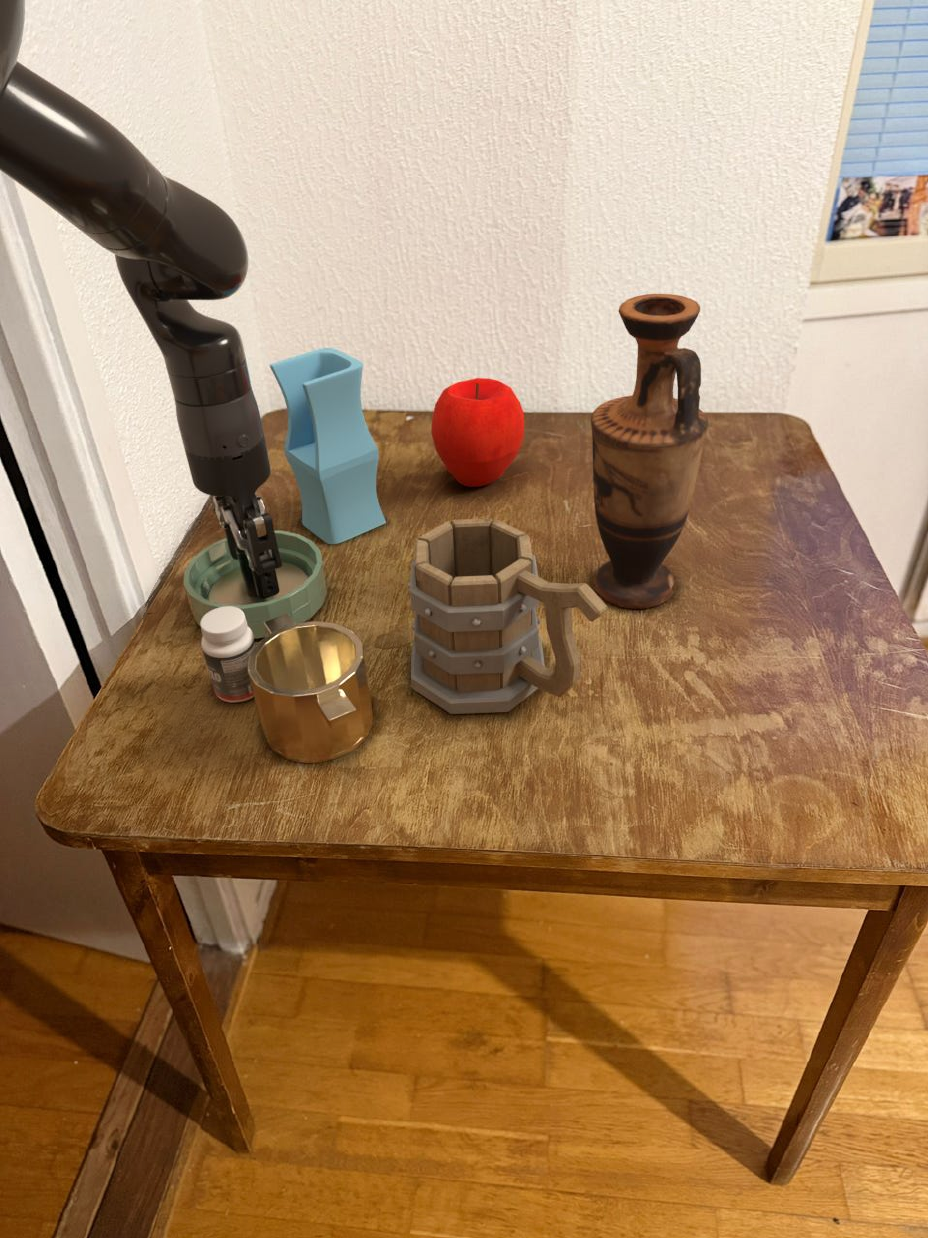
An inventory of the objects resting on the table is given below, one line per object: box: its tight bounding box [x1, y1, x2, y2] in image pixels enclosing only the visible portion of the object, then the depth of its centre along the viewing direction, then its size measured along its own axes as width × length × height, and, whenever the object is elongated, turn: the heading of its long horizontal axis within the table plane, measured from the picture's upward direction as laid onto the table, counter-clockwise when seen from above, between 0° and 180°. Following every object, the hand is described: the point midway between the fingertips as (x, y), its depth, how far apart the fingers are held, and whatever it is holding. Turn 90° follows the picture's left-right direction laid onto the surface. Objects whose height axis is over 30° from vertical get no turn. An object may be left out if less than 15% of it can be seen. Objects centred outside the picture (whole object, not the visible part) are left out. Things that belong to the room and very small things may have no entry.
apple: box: [430, 377, 525, 488], centre depth 110 cm, size 12×12×13 cm
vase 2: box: [590, 293, 709, 610], centre depth 86 cm, size 11×11×30 cm
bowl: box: [183, 529, 328, 640], centre depth 95 cm, size 14×14×4 cm
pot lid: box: [209, 546, 308, 605], centre depth 94 cm, size 11×11×7 cm
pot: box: [248, 614, 374, 764], centre depth 78 cm, size 10×15×8 cm, turn 30°
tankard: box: [407, 517, 608, 715], centre depth 79 cm, size 20×13×15 cm, turn 46°
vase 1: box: [269, 347, 387, 545], centre depth 102 cm, size 8×8×20 cm
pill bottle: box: [199, 606, 257, 703], centre depth 82 cm, size 5×5×8 cm
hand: (255, 575), depth 94 cm, fingers open, 8 cm apart
